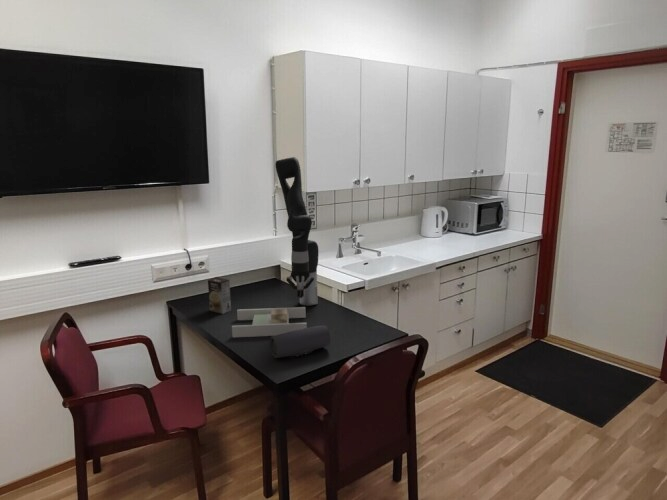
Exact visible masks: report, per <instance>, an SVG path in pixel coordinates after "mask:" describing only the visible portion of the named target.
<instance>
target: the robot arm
mask: <svg viewBox="0 0 667 500" xmlns="http://www.w3.org/2000/svg"><path fill="white" fill-rule="evenodd" d="M274 165H275V172H276V175H277V178H278V181H279V184H280V187H281V192H282V194H283V199H284V203H285V209H286V212H287V213H286V214H287V217H288V218H287V223H286V227H287V228H288V230H289V231H290V232H291V233H292V239H291V272H290V275H288V276H286V282H287V283H288V284H289V285H290V286H291V287H292V289H294V290H296V291H297V295H296V296H297V297H298V298H299V304H300V305H302V306H314V305H318V304H319V303H318V302H319V300H318V299H319V297H318V296H319V295H318V273H317V272H318V269H317V268H318V265H319V244H318V243H317V242H316V241H315V240H311V239H309V236H310V232H311V229H312V224H313V223H312V222H313V221H312V218H311V217H310V216H309V215H308V212H307V208H306V204H305V201H304V199H303V191H302V190H303V188H302V186H303V185H302V184H303V183H302V172H301V171H302V170H301V167H300V166H301V165H300V162H299V159H298V158H297V157H295V156H293V157H292V156H291V157H287V158H281V159H278V160H276V161H275V164H274ZM289 179H293V182H292V185H291V186H290V185H289V183H288V182H287V180H289ZM295 283H296V284H295Z"/></svg>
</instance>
